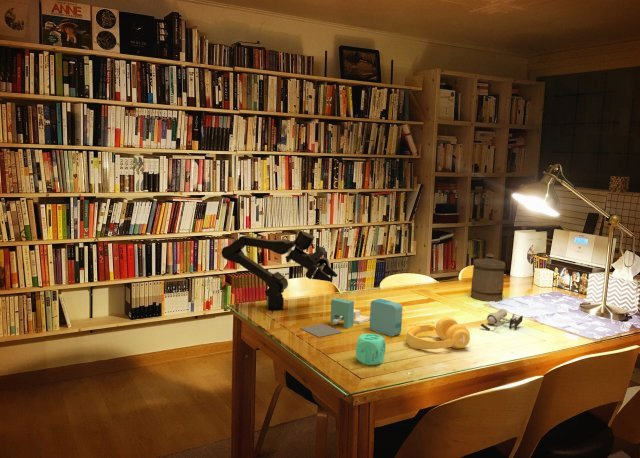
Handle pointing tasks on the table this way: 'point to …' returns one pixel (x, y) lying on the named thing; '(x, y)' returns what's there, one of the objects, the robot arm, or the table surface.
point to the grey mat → (321, 330)
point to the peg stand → (354, 318)
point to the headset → (440, 335)
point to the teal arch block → (342, 311)
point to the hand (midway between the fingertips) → (334, 278)
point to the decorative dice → (370, 349)
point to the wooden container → (488, 279)
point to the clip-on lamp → (496, 317)
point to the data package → (386, 317)
